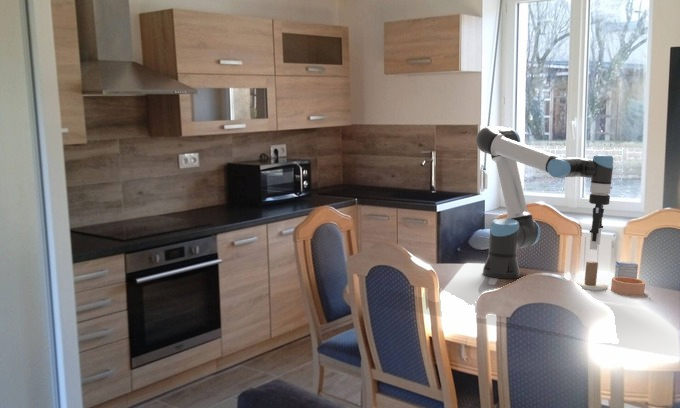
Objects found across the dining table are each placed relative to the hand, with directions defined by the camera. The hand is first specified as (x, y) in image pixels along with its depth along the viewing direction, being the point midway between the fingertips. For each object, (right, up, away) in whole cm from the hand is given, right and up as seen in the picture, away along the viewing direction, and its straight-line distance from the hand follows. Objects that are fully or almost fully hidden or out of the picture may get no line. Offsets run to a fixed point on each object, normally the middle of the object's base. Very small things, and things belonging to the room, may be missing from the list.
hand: (594, 246), depth 277 cm
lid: (-1, -16, +1) cm, 16 cm away
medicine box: (+18, -16, +13) cm, 27 cm away
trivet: (-1, -17, +2) cm, 17 cm away
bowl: (+11, -18, -4) cm, 22 cm away
